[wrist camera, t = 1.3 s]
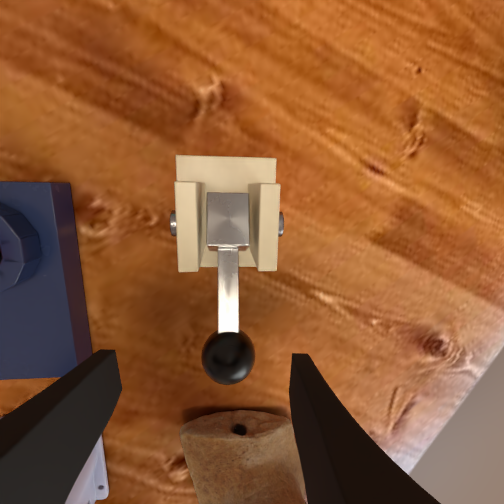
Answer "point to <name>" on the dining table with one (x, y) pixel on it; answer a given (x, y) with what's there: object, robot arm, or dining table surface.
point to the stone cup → (243, 458)
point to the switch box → (228, 181)
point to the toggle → (228, 288)
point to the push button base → (40, 283)
